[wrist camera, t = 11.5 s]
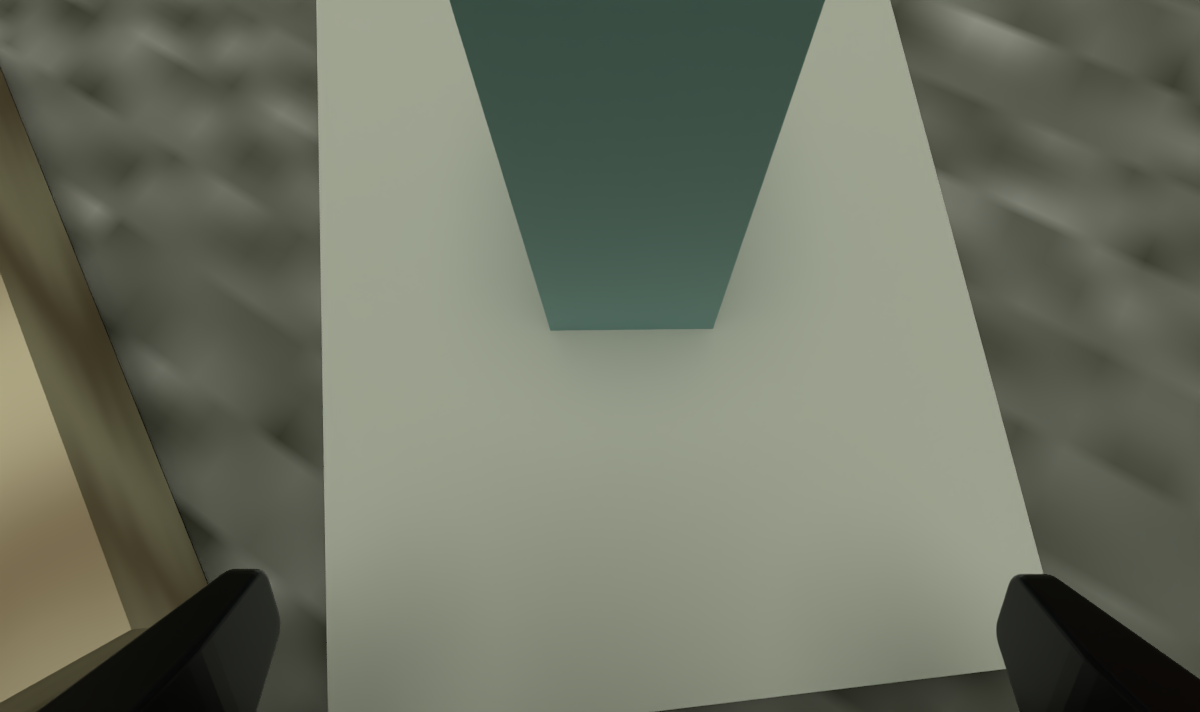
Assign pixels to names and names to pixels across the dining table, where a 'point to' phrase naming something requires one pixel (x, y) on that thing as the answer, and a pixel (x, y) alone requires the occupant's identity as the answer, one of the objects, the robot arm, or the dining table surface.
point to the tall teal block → (634, 143)
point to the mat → (647, 414)
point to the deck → (69, 461)
